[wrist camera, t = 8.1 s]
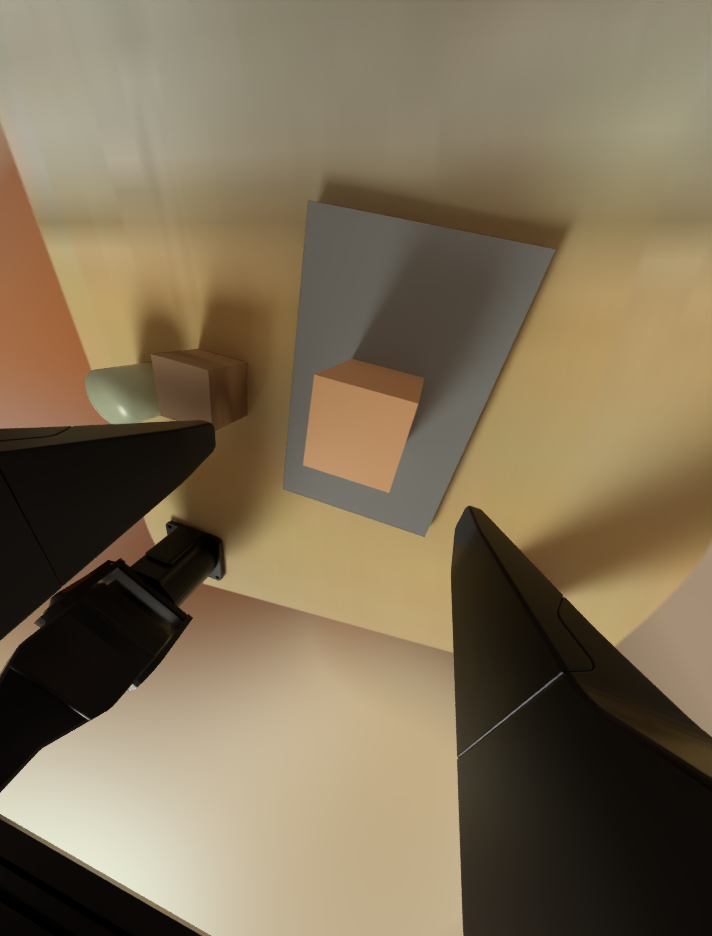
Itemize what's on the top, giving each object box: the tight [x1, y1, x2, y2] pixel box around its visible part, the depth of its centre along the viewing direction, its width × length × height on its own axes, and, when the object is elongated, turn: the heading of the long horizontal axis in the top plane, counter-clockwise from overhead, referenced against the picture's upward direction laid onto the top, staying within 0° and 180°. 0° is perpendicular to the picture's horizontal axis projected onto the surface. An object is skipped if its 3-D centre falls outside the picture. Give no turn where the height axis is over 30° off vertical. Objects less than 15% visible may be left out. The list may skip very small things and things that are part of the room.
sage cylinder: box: [85, 362, 161, 424], centre depth 21 cm, size 4×4×4 cm
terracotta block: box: [303, 359, 424, 493], centre depth 15 cm, size 4×4×6 cm
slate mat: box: [283, 200, 556, 537], centre depth 18 cm, size 18×12×1 cm, turn 169°
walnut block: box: [151, 349, 247, 430], centre depth 19 cm, size 4×4×4 cm
